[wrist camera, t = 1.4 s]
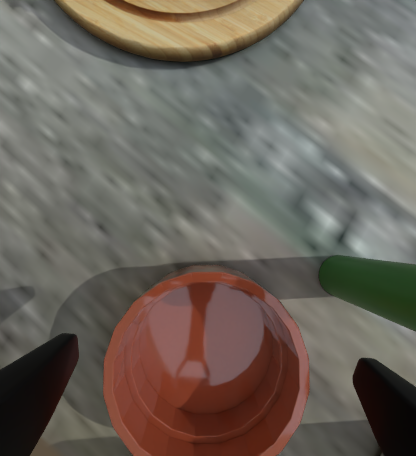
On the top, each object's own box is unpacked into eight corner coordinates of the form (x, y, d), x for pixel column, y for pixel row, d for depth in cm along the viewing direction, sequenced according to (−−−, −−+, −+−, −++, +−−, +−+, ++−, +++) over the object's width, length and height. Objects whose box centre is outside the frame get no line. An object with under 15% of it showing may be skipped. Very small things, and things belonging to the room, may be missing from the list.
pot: (304, 392, 23) (337, 442, 17) (154, 446, 22) (139, 516, 16) (254, 243, 23) (271, 245, 18) (107, 292, 23) (77, 310, 17)
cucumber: (364, 288, 23) (578, 355, 10) (326, 301, 23) (492, 386, 10) (351, 249, 23) (544, 264, 10) (313, 262, 23) (459, 294, 10)
